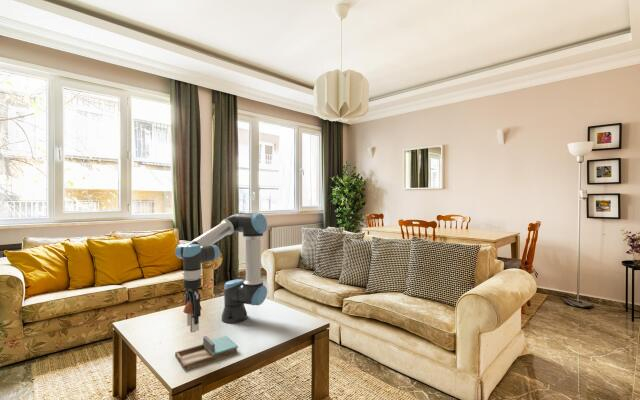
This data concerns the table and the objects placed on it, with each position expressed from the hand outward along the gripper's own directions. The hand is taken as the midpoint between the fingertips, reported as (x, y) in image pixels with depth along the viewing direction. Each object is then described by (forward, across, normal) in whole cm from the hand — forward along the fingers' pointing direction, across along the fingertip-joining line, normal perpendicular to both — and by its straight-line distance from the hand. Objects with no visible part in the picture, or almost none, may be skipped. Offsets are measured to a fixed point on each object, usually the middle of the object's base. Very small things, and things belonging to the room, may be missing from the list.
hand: (192, 327), depth 150 cm
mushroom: (+2, 0, 0) cm, 2 cm away
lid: (+12, 0, +13) cm, 18 cm away
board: (+15, 0, +7) cm, 16 cm away
